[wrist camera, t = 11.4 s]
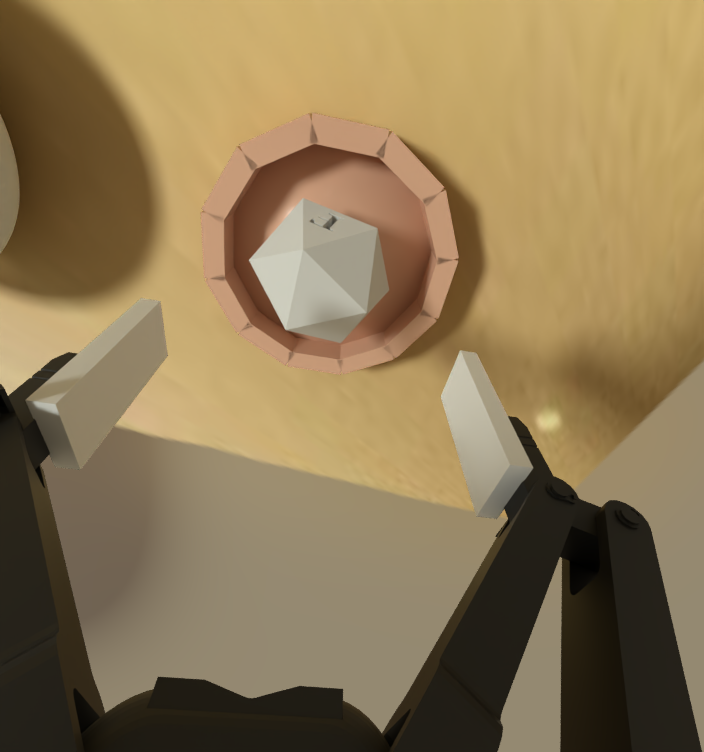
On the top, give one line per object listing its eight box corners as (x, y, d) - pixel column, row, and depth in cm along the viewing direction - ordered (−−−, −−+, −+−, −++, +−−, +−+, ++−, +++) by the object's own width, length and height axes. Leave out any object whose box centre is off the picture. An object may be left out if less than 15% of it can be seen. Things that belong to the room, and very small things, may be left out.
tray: (213, 90, 24) (194, 86, 21) (480, 149, 25) (496, 153, 22) (220, 334, 34) (207, 354, 31) (410, 364, 36) (414, 385, 33)
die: (407, 264, 30) (407, 202, 20) (360, 364, 30) (336, 354, 20) (314, 225, 31) (270, 149, 21) (270, 322, 31) (206, 292, 21)
